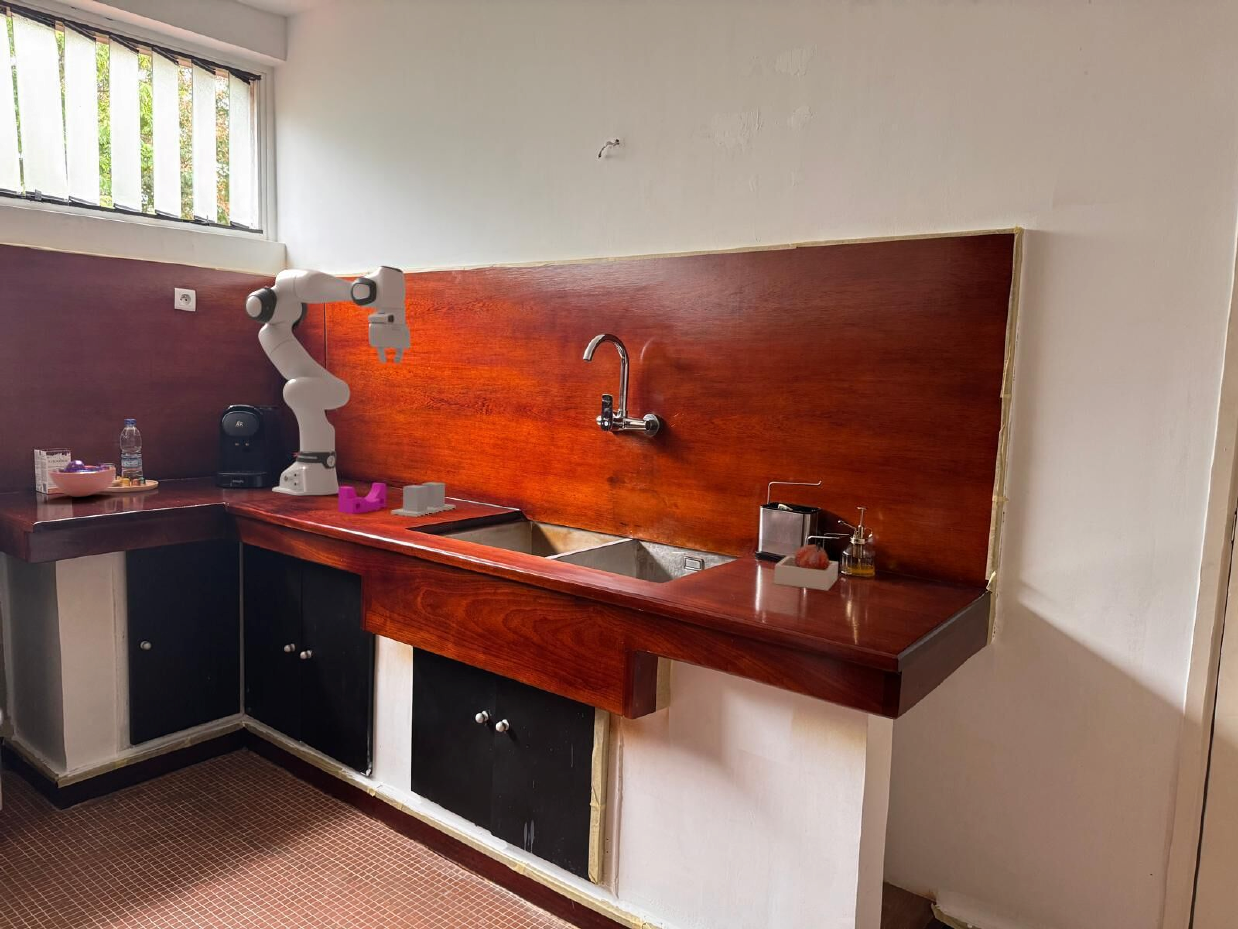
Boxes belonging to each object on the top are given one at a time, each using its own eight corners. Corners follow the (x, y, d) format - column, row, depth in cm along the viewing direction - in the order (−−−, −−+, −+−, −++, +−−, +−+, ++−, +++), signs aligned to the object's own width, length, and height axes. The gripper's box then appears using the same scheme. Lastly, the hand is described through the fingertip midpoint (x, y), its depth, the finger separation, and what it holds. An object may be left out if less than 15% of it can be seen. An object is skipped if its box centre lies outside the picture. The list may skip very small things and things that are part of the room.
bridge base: (391, 514, 257) (391, 487, 257) (431, 505, 276) (431, 480, 275) (416, 517, 254) (416, 489, 253) (455, 508, 272) (455, 482, 271)
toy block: (352, 514, 256) (352, 489, 255) (338, 512, 259) (338, 487, 258) (391, 508, 268) (391, 484, 268) (377, 506, 272) (377, 482, 271)
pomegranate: (783, 572, 193) (795, 532, 190) (813, 574, 195) (825, 534, 192) (797, 589, 187) (809, 548, 183) (827, 591, 188) (840, 550, 185)
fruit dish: (773, 583, 188) (774, 565, 188) (786, 573, 198) (787, 555, 198) (827, 590, 183) (828, 572, 183) (837, 579, 194) (838, 561, 193)
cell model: (131, 492, 280) (131, 457, 278) (83, 501, 260) (82, 463, 259) (85, 489, 282) (84, 455, 281) (34, 498, 263) (32, 460, 262)
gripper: (398, 320, 285) (397, 363, 287) (365, 316, 265) (364, 361, 267) (415, 320, 284) (415, 363, 285) (383, 316, 264) (383, 362, 265)
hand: (390, 362), depth 276 cm, fingers open, 8 cm apart
